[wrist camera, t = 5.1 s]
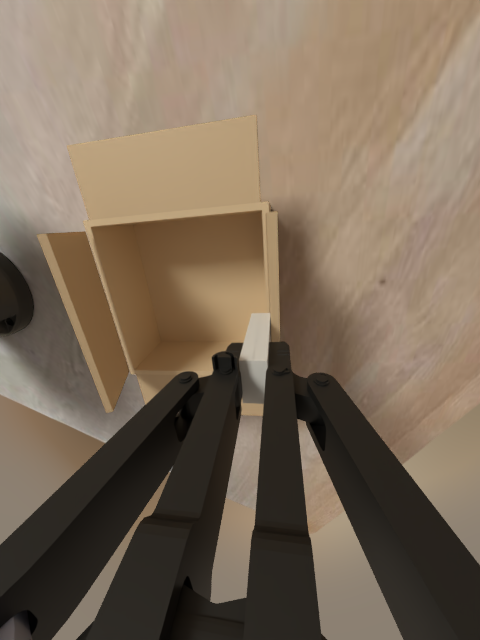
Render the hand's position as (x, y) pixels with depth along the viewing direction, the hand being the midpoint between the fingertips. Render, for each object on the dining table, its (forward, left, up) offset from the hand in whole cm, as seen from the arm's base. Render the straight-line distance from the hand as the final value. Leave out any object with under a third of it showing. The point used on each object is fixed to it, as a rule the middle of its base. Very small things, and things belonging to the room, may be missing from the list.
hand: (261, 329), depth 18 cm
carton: (-8, 0, -14) cm, 17 cm away
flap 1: (-17, 0, -6) cm, 18 cm away
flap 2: (+1, 0, -6) cm, 6 cm away
